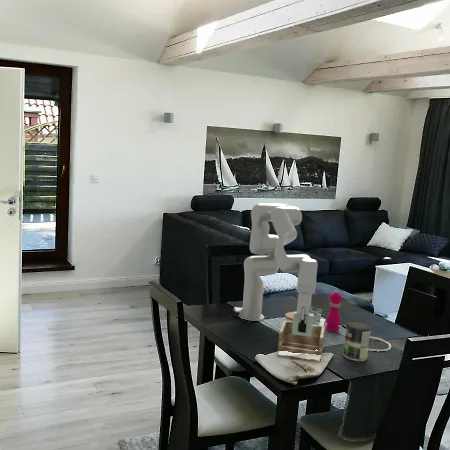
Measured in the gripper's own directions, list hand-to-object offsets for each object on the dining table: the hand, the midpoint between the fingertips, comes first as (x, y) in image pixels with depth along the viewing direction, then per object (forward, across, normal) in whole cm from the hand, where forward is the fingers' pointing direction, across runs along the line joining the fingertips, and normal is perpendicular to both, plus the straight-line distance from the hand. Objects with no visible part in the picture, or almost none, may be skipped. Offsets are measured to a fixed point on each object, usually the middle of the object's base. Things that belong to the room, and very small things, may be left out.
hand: (302, 330), depth 231 cm
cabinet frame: (+11, -4, 0) cm, 11 cm away
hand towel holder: (+11, -26, +29) cm, 40 cm away
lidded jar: (+11, -28, -5) cm, 30 cm away
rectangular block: (+2, 0, 0) cm, 2 cm away
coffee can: (+11, -8, +23) cm, 27 cm away
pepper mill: (+11, -38, +12) cm, 41 cm away
